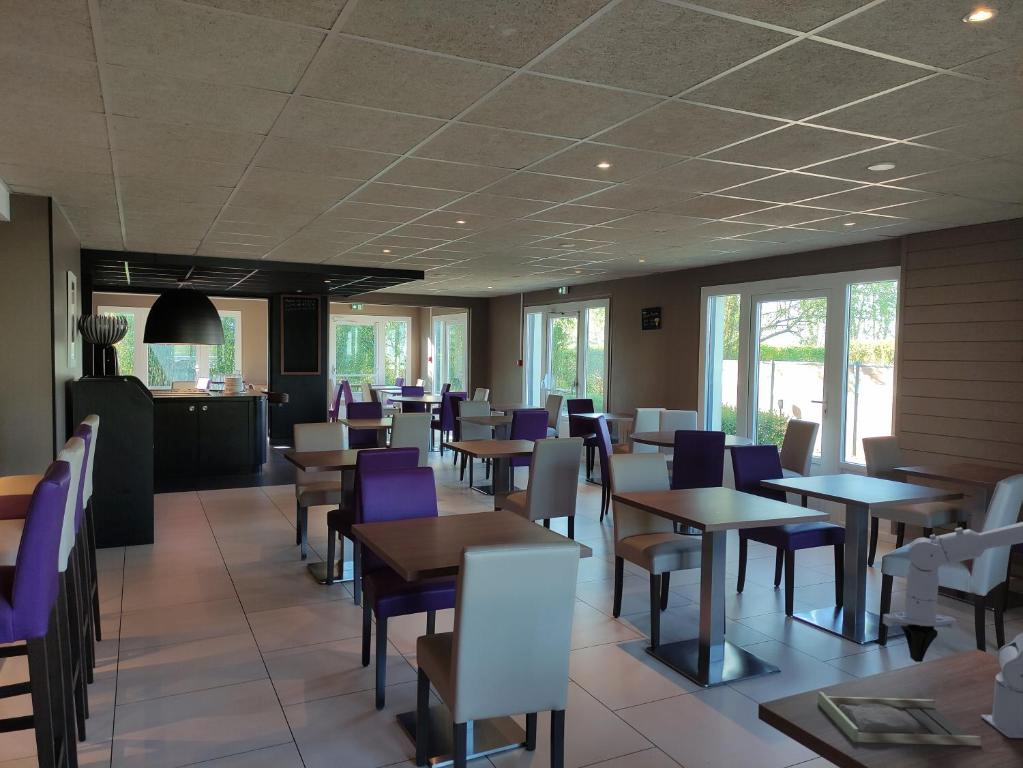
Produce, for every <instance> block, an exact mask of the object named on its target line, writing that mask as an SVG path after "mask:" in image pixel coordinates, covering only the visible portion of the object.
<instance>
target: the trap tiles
mask: <svg viewBox="0 0 1023 768" xmlns="http://www.w3.org/2000/svg"><path fill="white" fill-rule="evenodd" d="M902 708H903V710H905V711H906V712H907V713H908V714H909V715H910V716H911V717H912V718H913V719H915V720H916V721H917V722H918V723H919V724H920V725H922V726H923V727H924V728H925V729H926V730H928V731H929V732H930V733H931V735H965V736H969V735H968V733H966V732H965V731H963V729H961V728H960V727H958V726H957V725H956V724H955V723H954V722H952V721H951V720H950V719H948V717H946V716H945V715H944V714H942V713H941V712H940V711H938V710H937V708H935V707H934V708H915V707H902Z"/></svg>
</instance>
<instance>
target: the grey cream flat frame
mask: <svg viewBox="0 0 1023 768" xmlns="http://www.w3.org/2000/svg"><path fill="white" fill-rule="evenodd" d="M826 696H827V695H826ZM827 697H828V698H829V699H830V700H831V701H832V702H833V703H834V704H835V705H836V706H839V705H841V704H843V705H853V706H860V705H863V704H882V705H886V706H890V707H892V708H903V707H915V708H919V709H920V708H935V703H936V700H935V699H925V698H924V699H920V698H894V697H893V698H892V697H863V696H861V697H860V696H832V695H831V696H830V695H829V696H827ZM981 741H982V737H981V736H980V735H968V736H965V735H951V734H950V735H933V734H932V733H931V734H929V733H927V734H925V733H916V734H898V733H865V732H858V742H857V743H875V744H876V743H879V744H883V743H884V744H912V745H913V744H915V745H949V746H952V745H953V746H981V743H982V742H981Z"/></svg>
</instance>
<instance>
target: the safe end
mask: <svg viewBox="0 0 1023 768" xmlns="http://www.w3.org/2000/svg"><path fill="white" fill-rule="evenodd" d="M817 695H818V697H817V704H818V706H819V707H820V708H822V710H823V711H824V712H825V713H826V714H827V715H828V716H829V717H830V719H832V720H833V722H834V723H835V724H836V725H837V726H838V727H839V728H840V730H842V731H843V732H844V734H845V735H847V737H848V738H849V739H850V740H851V741H852V742H853V743H859V742H858V730H859V729H858V728H857V727H856V726H855V725H854V724H853V723H852V722H851V721H850V720H849V719H848V718H847V717H846V716H845V715H844V714H843V712H842V711H841V710H840V709H839V706H838V705H835V704H834V703H833V702H832V701H831V700H830V699H829V698H828V697H827V695H826V694H825V693H824V692H823V691H818V694H817Z"/></svg>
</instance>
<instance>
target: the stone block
mask: <svg viewBox="0 0 1023 768" xmlns="http://www.w3.org/2000/svg"><path fill="white" fill-rule="evenodd" d="M838 708H839V709H840V710H841V711H842V712H843V714H844V715H845V716H846V717H847V718H848V719H849V720H850V721H851V722H852V723H853V724H854V725H855V726H856V727H857V728H858V729H859V730H858V732H865V733H898V734H917V729H916V725H915V724H914V723H913V722H912V721H911V720H910V719H909V718H908V717H907V716H906V715H904V713H902V712H901V711H900V710H898V709H897V708H896V707H890V706H886V705H882V704H863V705H860V706H853V705H843V704H841V705H838Z"/></svg>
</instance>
